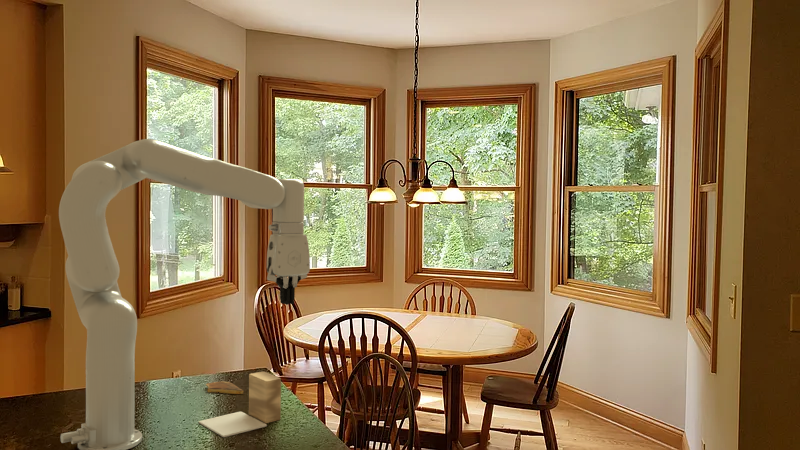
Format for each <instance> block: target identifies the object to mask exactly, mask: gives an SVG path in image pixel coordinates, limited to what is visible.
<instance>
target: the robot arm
mask: <svg viewBox="0 0 800 450" xmlns="http://www.w3.org/2000/svg"><path fill="white" fill-rule="evenodd" d="M145 179H148V180H153V181H156V182H160V183H163V184H166V185H171V186H173V187H177V188H179V189H182V190H183V189H184V190H186V191H189V192H193V193H196V194H201V195H207V196H216V197H224V198H229V199H234V200H237V201H241V203H242V204H243V205H245V206H246V207H248V208H252V209H263V210H272V222H271V223H272V224H269V225H268V230H269V231H271V232H272V234H270V235H269V239H268V240H269V241H268V245H267V252H266V272H267V276H266V280H267V281H271V282H275V283H276V285H277V287H278V288H279V300H280V304H282V305H294V304H295V297H296V296H295V295H296V294H295V292H296V291H295V290H296V288H297V287H298V284H299V282H300V281H302V280H303V279H306V278H307V277H308V274H309V273H310V269H311V262H310V261H311V258H310V257H311V256H310V247H309V240H308V235H307V234H304V233H305V231H304V230H305V229H304V228H305V226H304V225H305V223H304V222H305V221H304V219H305V217H304V216H305V184H304V182H303V180H302V179H298V178H278V179H277V178H276V177H274V176H271V175H269V174H266V173H262V172H261V171H257V170H254V169H250V168H247V167H244V166H240V165H237V164H233V163H229V162H227V161H222V160H221V159H216V158H213V157H209V156H206V155H203V154H200V153H197V152H194V151H190V150H188V149H184V148H181V147H178V146H175V145H173V144H169V143H167V142H163V141H161V140H156V139H152V138H145V139H140V140H136V141H133V142H131V143H129V144H127V145H123V146H122V147H119V148H117V149H115V150H114V151H111V152H109V153H107V154H104V155H101V156H99V157H97V158H95V159H92V160H89V161H87V162H85V163H83V164H81V165H79V166H78V167H77V168H76V169H75V170H74V171H73V173H72V176H71V180H70V181H69V182H68V184H67V185H66V187H65V189H64V191H63V193H62V194H61V195H62V196H61V199H60V201H59V207H58V219H59V226H60V229H61V233H62V237H63V242H64V247H65V249H66V253H67V255H68V256H67V258H66V261H65V264H64V265H65V273H66V279H67V282H68V285H69V286H68V287H69V288H70V292H71V295H72V298H73V301H74V305H75V308H76V311H77V313H78V317H79V319H80V322H81V324H82V325H83V326H84V327H85V329H86V336H87V337H86V349H85V422H83V423H81V424H80V425H81V428H77V429H76V430H75V431H68V432H64V433H60V435H59V437H60V442H61V444H64V443H65V444H66V443H69V442H71V444H72V445H74V444H77V449H78V450H129V449H132V448H134V447H136V446H138V445H139V444H140V443H142V440H143V433H142V432H141V431H140V430H138V429H136V428H135V416H136V415H135V410H136V409H135V408H136V407H135V404H136V403H135V401H136V400H135V398H136V397H135V396H136V395H135V387H136V386H135V381H136V380H135V377H136V375H135V372H136V371H135V369H136V368H135V363H136V362H135V360H136V359H135V355H136V342H137V333H138V317H137V314H136V309H134V306H133V305H132V304H131V302H129V301H128V300H127V299H126V298H124V297H122V293H121V290H120V287H119V283H118V279H119V277H120V271H121V270H120V269H121V267H120V265H119V262H118V259H117V255H116V253H115V250H114V247H113V243H112V240H111V237H110V233H109V228H108V225H107V220H106V219H107V218H106V211H107V208H108V205H109V203H110V201H111V200H112V199H114V198H115V197H116V196H117V195H118V194H119V193H120V191H122V190H125V189H126V188H129V187H131V186H133V185H135V184H137V183H138V182H141V181H143V180H145Z"/></svg>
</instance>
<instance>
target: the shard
mask: <svg viewBox="0 0 800 450" xmlns="http://www.w3.org/2000/svg"><path fill="white" fill-rule="evenodd" d="M205 386H206V387H207V393H218V392H219V394H231V395H232V394H233V395H243V394H244V392H245V390H244V389H242V388H240V387H238V386H237V384H234V383H232V382H230V381H221V380H220V381H214V382H213V381H212V382H208V383H205Z"/></svg>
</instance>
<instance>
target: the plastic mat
mask: <svg viewBox="0 0 800 450" xmlns="http://www.w3.org/2000/svg"><path fill="white" fill-rule="evenodd" d="M198 424H199V425H202V426H203V427H205V428H206V429H209V430H210V431H212V432H213V433H215V434H217V435H218V436H220V437H222V438H227V437H231V436H234V435H238V434H241V433H246V432H250V431H253V430H258V429H261V428H265V427H268V425H267V424H268V423H265V422H263V421H261V420H259V419H257V418H255V417H253V416H251V415H249V414H247V413H245V412H243V411H240V410H239V411H236V412H232V413H228V414H223V415H220V416H215V417H211V418H207V419H203V420H199V421H198Z"/></svg>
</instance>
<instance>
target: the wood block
mask: <svg viewBox="0 0 800 450" xmlns="http://www.w3.org/2000/svg"><path fill="white" fill-rule="evenodd" d="M281 398H282V378H281V377H278V376H276V375H273V374H271V373H269V372H267V371H258V372H253V373H249V374H248V415H249V416H251V417H253V418H255V419H257V420H259V421H261V422H263V423H265V424H268V423H273V422H276V421H280V420H281V412H282V410H281V409H282V407H281V406H282V403H281V402H282V399H281Z"/></svg>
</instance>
